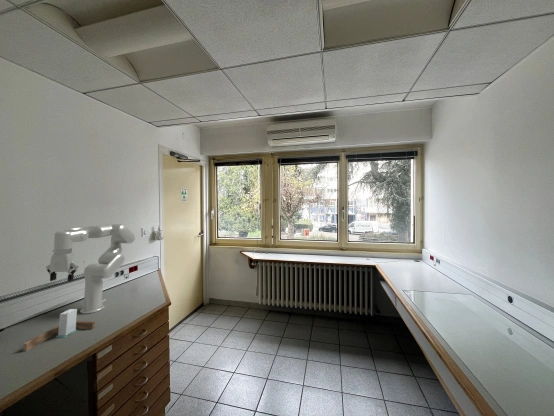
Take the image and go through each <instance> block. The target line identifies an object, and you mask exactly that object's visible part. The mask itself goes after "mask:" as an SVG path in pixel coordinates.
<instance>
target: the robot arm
mask: <svg viewBox="0 0 554 416" xmlns="http://www.w3.org/2000/svg"><path fill="white" fill-rule="evenodd" d="M109 236H111V237H110V246H109V248H108V249H107V250H106V251H105V252H104V253H102V254H101V255H100V256H99V257H98V259H97V261H98V263H91V264H88V265H87V266H86V267H84V270H83V276H84V294H83V295H84V296H83V307H82V308H81V309H80V311H79V312H80V314H85V315H86V314H93V313H97V312H99V311H103V309H104V308H105V305H104V303H105V302H107V298H103V292H104V291H103V288H104V281H103V279H106V280H107V279H109V278H111V277H113V275H115V273H116V272H117V271H118V270H119V269H120V268H121V266H122V265H123V264H124V262H125V256H124V254H123V253H122V251H123V247H122V244H128V245H129V244H132V243H134V241H135V240H136V236H135V234H134V232H132V230H131V229H129V227H127V226H126V225H124V224H119V223H108V224H101V225H94V226H91V225H90V226H80V227H71V228H66V229H63V230H61V231H60V230H59V231H55V233H54V239H53V240H54V243H53V250H52V252H53V254H52V255H51V257H50V262H49V264H48V265H46V266H45V268H46V271H47V272H48V274H49V281H50V282H53V281H56V280H57V273H65V272H67V273H68V274H67V282H71V281H73V280H74V278H75V277H74V276H75V273H76V272H78V269H79V267H80V266H78V265H76V264H74V263H75V259H74V254H73V252H72V251H73V250H72V249H73V243H79V242H84V241H87V239H99V238H104V237H109Z"/></svg>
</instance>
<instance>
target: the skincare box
mask: <svg viewBox="0 0 554 416" xmlns="http://www.w3.org/2000/svg"><path fill="white" fill-rule="evenodd" d="M77 316H78V309H77V308H69V309H67V310H65V311H64V312H61V313H59V324H58V325H59V333H58V334H57V336H58V335H59V336H66V335H68V334H69V333H71V332H73V331H74V330H77V329H76V321H77ZM68 336H69V335H68Z"/></svg>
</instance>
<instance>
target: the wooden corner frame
mask: <svg viewBox="0 0 554 416" xmlns="http://www.w3.org/2000/svg"><path fill="white" fill-rule="evenodd" d="M95 324H96V322H95V321H92V320H91V321H88V320H87V321H86V320H84V321H83V320H76V330H74V331H73V332H71V333H69V334H68V335H66V336H59V335H58V333H59V324H58V325H57V326H54V327H53V328H51V329H49V330H46V331H45V332H43V333H41V334H38V335H37V336H35V337H33V338H32V339H30V340H28V341H26V342H23V348H22V351H23V352H27V351H29V350H31V349H32V348H34V347H36V346H38V345H40V344H41V343H43V342H46V341H47V340H48V339H50V338H52V337H54V336H55V338H64V339H65V338H67V337H68V336H70V335H71V334H73V333H75V332H77V331H78V330H79V329H81V330H83V329H84V330H93V329H95Z"/></svg>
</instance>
